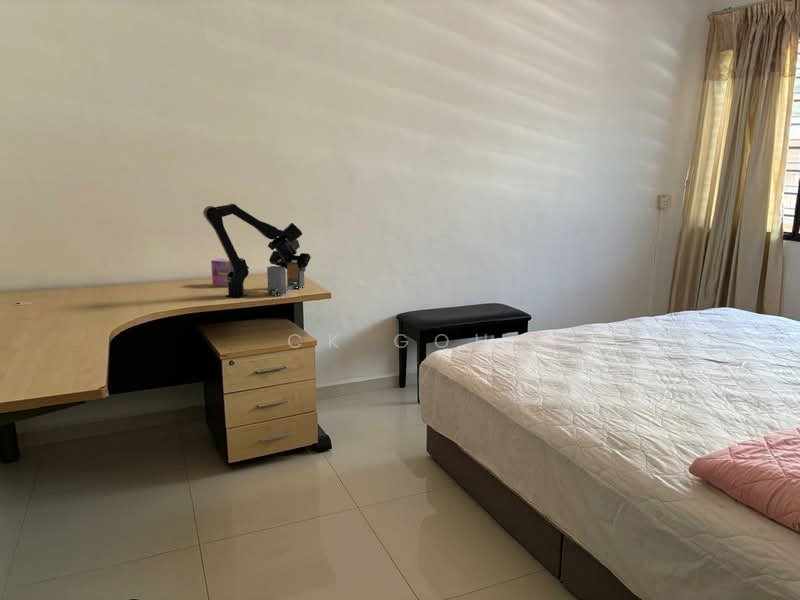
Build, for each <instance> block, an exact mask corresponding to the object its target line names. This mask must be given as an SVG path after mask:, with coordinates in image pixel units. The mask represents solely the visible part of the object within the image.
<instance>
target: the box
mask: <svg viewBox="0 0 800 600" xmlns="http://www.w3.org/2000/svg"><path fill="white" fill-rule="evenodd" d="M210 263H211V265H210V266H211V278H212V286H213V285H222V286H221V287H227V286H228V283H229V281H228V279H227V277H226V276H227V275H228V274H229V273H230V272H231V268H230V263H229V259H224V258H215V259H211V262H210Z"/></svg>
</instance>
